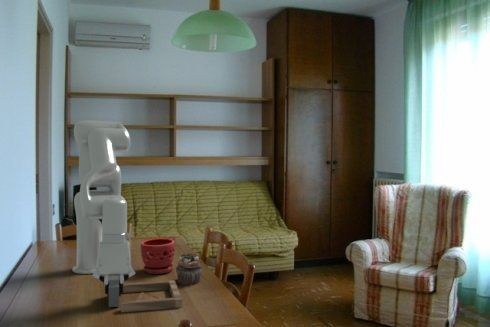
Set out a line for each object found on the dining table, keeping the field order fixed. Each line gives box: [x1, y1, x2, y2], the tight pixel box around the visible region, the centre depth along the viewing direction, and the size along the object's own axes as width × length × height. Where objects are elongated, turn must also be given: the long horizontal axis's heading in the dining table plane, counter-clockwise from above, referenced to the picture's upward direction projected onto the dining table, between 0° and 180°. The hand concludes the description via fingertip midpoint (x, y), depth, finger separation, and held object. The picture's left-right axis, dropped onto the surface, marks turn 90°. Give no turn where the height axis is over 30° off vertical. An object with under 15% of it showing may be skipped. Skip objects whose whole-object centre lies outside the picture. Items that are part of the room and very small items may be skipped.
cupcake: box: [175, 253, 203, 285], centre depth 161 cm, size 10×10×10 cm
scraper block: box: [108, 275, 120, 308], centre depth 139 cm, size 12×3×6 cm, turn 16°
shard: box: [135, 291, 161, 301], centre depth 141 cm, size 11×8×2 cm
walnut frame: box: [120, 279, 183, 313], centre depth 142 cm, size 20×18×2 cm
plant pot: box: [140, 237, 176, 275], centre depth 174 cm, size 13×13×12 cm
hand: (114, 295), depth 139 cm, fingers closed on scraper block, 2 cm apart
